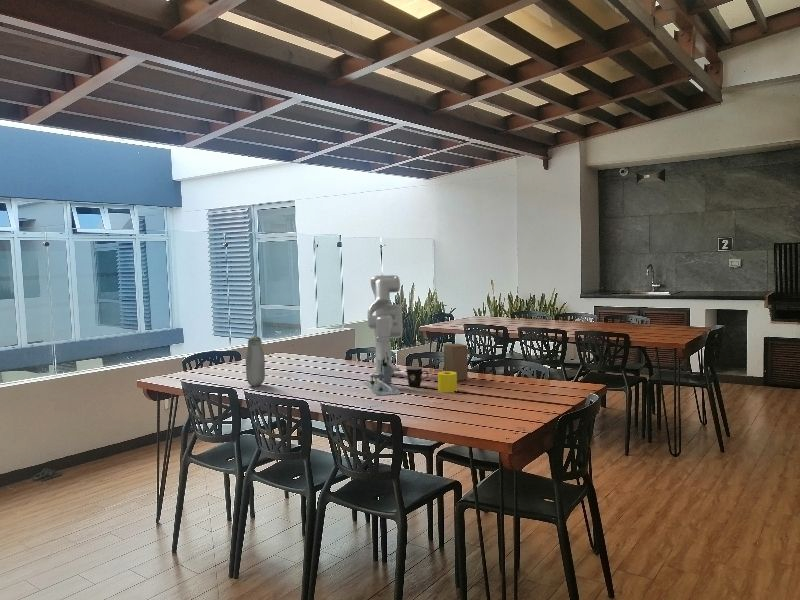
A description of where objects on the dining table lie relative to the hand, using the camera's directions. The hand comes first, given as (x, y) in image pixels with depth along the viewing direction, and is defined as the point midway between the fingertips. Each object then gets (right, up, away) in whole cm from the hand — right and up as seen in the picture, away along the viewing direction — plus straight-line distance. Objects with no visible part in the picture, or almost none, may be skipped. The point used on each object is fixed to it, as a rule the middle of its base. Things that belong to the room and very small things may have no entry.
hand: (384, 372), depth 335 cm
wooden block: (+41, -6, +16) cm, 44 cm away
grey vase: (-73, -9, +9) cm, 74 cm away
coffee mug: (+18, -8, -1) cm, 20 cm away
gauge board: (-2, -8, -6) cm, 10 cm away
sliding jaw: (-1, -5, -5) cm, 8 cm away
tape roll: (+34, -8, -13) cm, 37 cm away
